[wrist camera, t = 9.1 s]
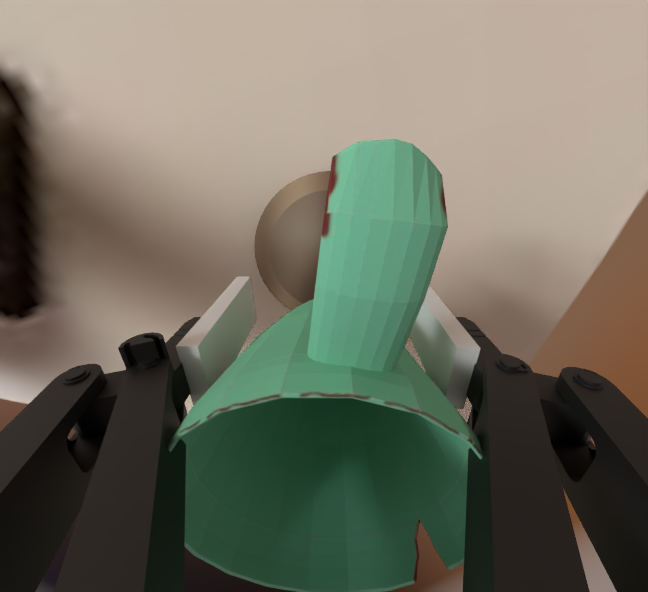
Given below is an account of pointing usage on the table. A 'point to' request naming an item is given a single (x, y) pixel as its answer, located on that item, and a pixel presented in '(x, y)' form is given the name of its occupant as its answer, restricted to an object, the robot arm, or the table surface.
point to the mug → (338, 407)
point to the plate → (292, 239)
